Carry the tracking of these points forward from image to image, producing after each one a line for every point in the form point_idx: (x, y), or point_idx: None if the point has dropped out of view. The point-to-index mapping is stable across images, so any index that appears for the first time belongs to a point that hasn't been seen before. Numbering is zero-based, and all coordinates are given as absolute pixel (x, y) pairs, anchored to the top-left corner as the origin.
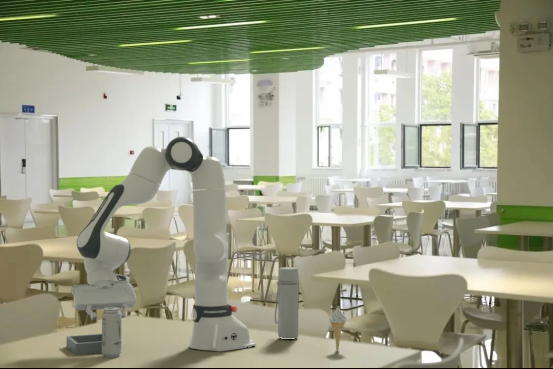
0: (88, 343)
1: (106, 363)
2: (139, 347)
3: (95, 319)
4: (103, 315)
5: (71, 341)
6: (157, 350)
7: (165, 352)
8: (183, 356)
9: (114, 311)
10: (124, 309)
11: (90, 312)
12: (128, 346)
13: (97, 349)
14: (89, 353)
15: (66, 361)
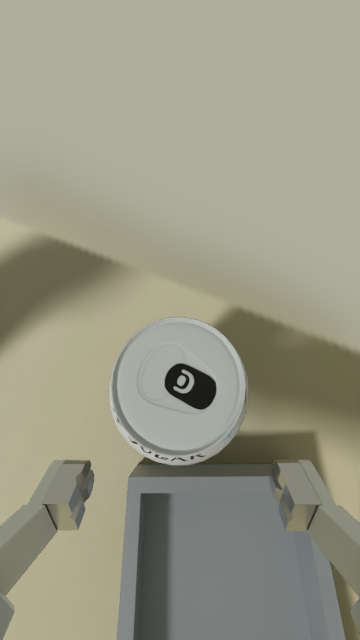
0: (258, 475)
1: (213, 308)
2: None
3: (273, 476)
4: (242, 362)
5: (332, 588)
6: (21, 420)
7: (18, 378)
8: (10, 309)
9: (173, 321)
10: (21, 517)
11: (346, 515)
12: (70, 558)
13: (215, 467)
14: (242, 464)
15: (316, 372)
